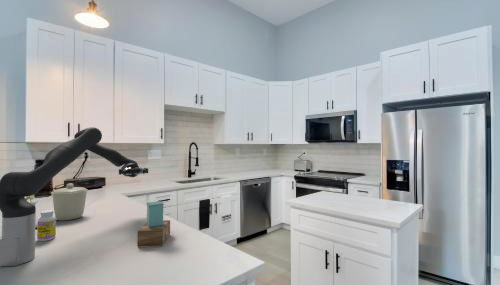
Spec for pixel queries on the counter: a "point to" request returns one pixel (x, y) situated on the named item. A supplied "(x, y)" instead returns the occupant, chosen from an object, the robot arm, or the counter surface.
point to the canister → (69, 202)
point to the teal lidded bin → (154, 214)
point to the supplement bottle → (46, 226)
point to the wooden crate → (153, 235)
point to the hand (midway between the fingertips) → (135, 172)
